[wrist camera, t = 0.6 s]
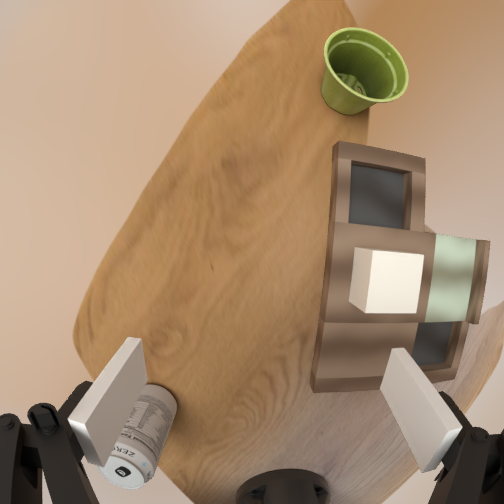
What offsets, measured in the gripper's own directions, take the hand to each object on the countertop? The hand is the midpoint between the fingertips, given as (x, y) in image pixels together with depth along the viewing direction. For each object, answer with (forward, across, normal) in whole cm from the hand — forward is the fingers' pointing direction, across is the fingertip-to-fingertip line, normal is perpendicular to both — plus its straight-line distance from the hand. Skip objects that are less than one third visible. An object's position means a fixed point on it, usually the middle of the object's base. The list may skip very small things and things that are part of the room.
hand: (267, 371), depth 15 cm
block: (+18, -13, 0) cm, 22 cm away
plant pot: (+24, -9, -21) cm, 33 cm away
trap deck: (+21, -18, +1) cm, 27 cm away
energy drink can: (+17, +13, +19) cm, 28 cm away
